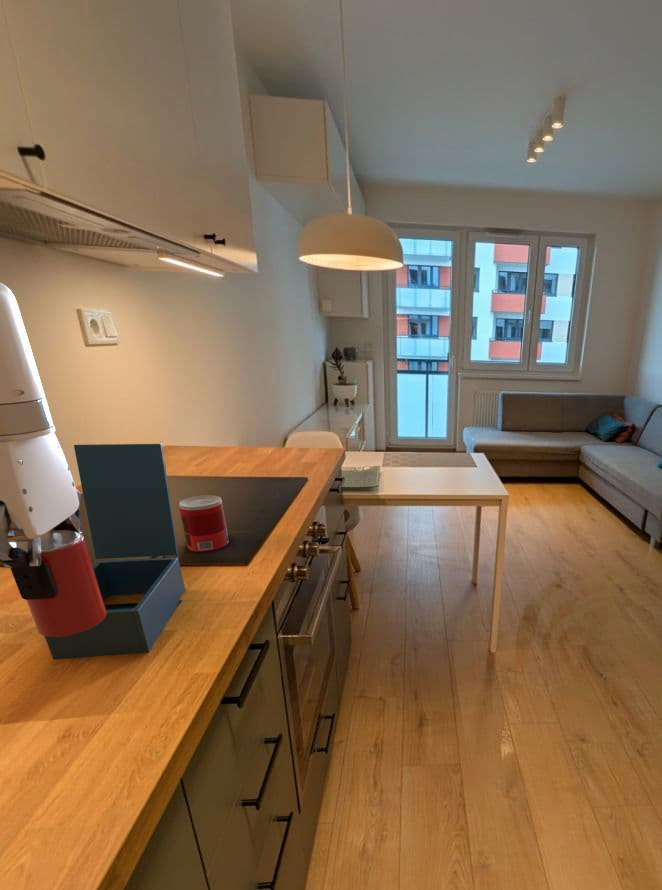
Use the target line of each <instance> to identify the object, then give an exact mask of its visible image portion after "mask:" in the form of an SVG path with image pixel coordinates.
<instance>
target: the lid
mask: <svg viewBox="0 0 662 890" xmlns="http://www.w3.org/2000/svg"><path fill="white" fill-rule="evenodd" d="M73 447H74V448H73V450H74V453H75V460H76V465H77V469H78V475H79V480H80V485H81V490H82V495H83V496H82V497H83V500H84V501H83V502H84V506H85V509H86V517H87V521H88V527H89V531H90V537H91V541H92V547H93V553H94V558H95V560H99V559H100V560H101V559H104V560H105V559H123V558H124V559H125V558H145V557H167V556H168V557H169V556H170V557H171V556H178V555H179V548H178V542H177V534H176V528H175V522H174V514H173V507H172V502H171V495H170V488H169V487H170V486H169V481H168V474H167V467H166V461H165V460H166V459H165V455H164V447H163V443H104V444H100V443H99V444H94V443H93V444H73Z"/></svg>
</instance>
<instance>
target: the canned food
mask: <svg viewBox="0 0 662 890" xmlns="http://www.w3.org/2000/svg"><path fill="white" fill-rule="evenodd" d="M223 505H224V504H223V500H222V497H220V496H218V495H214V494H213V495H212V494H204V495H203V494H201V495H194V496H189V497H187V498H184V499H181V500H180V501H179V502H178V508H179V514H180V519H181V523H182V527H183V532H184V537H185V543H186V545H187V549H188V550H190V551H192V552H201V553H202V552H211V551H216V550H219V549H222V548H223V547H225V546H227V545H228V544H229V542H230V541H229V534H228V529H227V523H226V516H225V512H224V506H223Z"/></svg>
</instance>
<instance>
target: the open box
mask: <svg viewBox="0 0 662 890" xmlns="http://www.w3.org/2000/svg"><path fill="white" fill-rule="evenodd" d="M92 566H93V570H94V573H95V576H96V579H97V583H98V586H99V589H100V593H101V596H102V599H103V602H104V606H105V609H106V612H107V614H106V617H105V619H104V620H103V621H102V622H100V623H99V624H98V625H96V626H94V627H92V628H90V629H88V630H86V631H83V632H80V633H77V634H73V635H69V636H63V637H47V636H44V639H45V641H46V643H47V647H48V649H49V653H50V655H51V658H52V659H53V660H64V659H78V658H93V657H107V656H119V655H120V656H121V655H134V654H135V655H137V654H148V653H150V652H151V650H152V649H153V647H154V646H155V645H156V643H157V641H158V639H159V638H160V636H161V635H162V633H163V631H164V630H165V629H166V627H167V625H168V623H169V622H170V620H171V618H172V617H173V616H174V614H175V613H176V610H177V609H178V607H179V606H180V604H181V603H182V599H181V598H182V596H183V595H184V594H185V592H186V586H185V581H184V577H183V573H182V568H181V565H180V559H179V557H177V556H176V557H157V558H156V557H155V558H153V557H151V558H132V559H129V558H128V559H107V560H97V561H95V563H93V564H92ZM138 595H143V596H142V598H141V599H140V600H139V602H127V603H111V604H109V603H108V604H105V603H106V602H107V601H108V599H110V598H111V597H118V596H120V597H122V596H138Z"/></svg>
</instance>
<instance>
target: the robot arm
mask: <svg viewBox="0 0 662 890" xmlns="http://www.w3.org/2000/svg"><path fill="white" fill-rule="evenodd" d="M21 315H22V314H21V311H20V308H19V304H18V302H17V299H16V297H15V295H14V294H13V292H12V290H11V289H10V288H9V287H8V286H7V285H6V284H4V283H2V282H1V281H0V563H2V564H3V566H4V568H6V569H10V571H11V574H12V576H13V579H14V581H15V585H16V587H17V590H18V592H19V595H20V598H21V599H22V600H25V601H27V600H33V599H50V598H55V597H56V596H57V595H58V592H57V589H56V586H55V583H54V580H53V577H52V574H51V572H50V569H49V566H48V563H47V562H41V539H40V536H42V535H44V534H45V533H47V532H48V531H58V530H69V531H75V532H77V533H80V534H83V533H84V526H83V524H82V522H81V521H80V520H81V516H82V515H81V514H82V512H81V511H82V510H81V508H80V506H81V501H82V500H81V498H82V494H81V492H80V491H79V490H78V489H77V487H76V485H75V481H74V478H73V475H72V472H71V469H70V467H69V464H68V460H67V459H66V456H65V453H64V451H63V449H62V447H61V446H62V445H61V444H60V442H59V439H58V438H57V435H56V433H55V432H56V431H57V430H56V427H55V423H54V421H53V417H52V414H51V411H50V410H51V409H50V408H49V404H48V400H47V398H46V394H45V391H44V387H43V385H42V381H41V377H40V374H39V371H38V367H37V365H36V361H35V358H34V355H33V351H32V348H31V344H30V341H29V338H28V334H27V331H26V327H25V325H24V322H23V321H24V320H23V317H22V316H21ZM15 531H23V533H24V534H22V535H21V534H19V535H18V534H17V535H16V534H15ZM17 542H27V546H28V553H27V552H25V551H23V550H22V549H20V548H17Z"/></svg>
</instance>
